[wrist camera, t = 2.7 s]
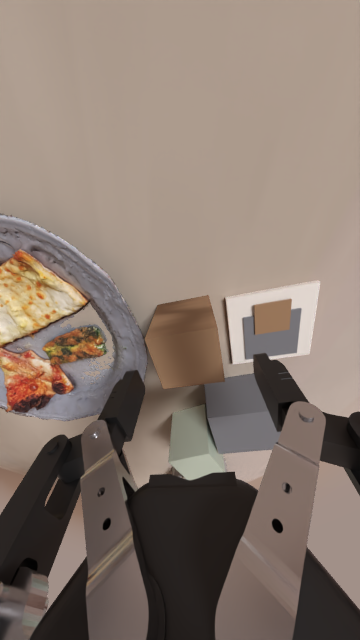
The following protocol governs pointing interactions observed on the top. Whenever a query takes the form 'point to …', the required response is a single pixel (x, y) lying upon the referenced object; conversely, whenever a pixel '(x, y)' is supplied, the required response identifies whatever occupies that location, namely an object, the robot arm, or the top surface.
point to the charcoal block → (239, 416)
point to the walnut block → (185, 343)
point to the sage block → (194, 444)
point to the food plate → (58, 327)
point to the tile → (272, 321)
